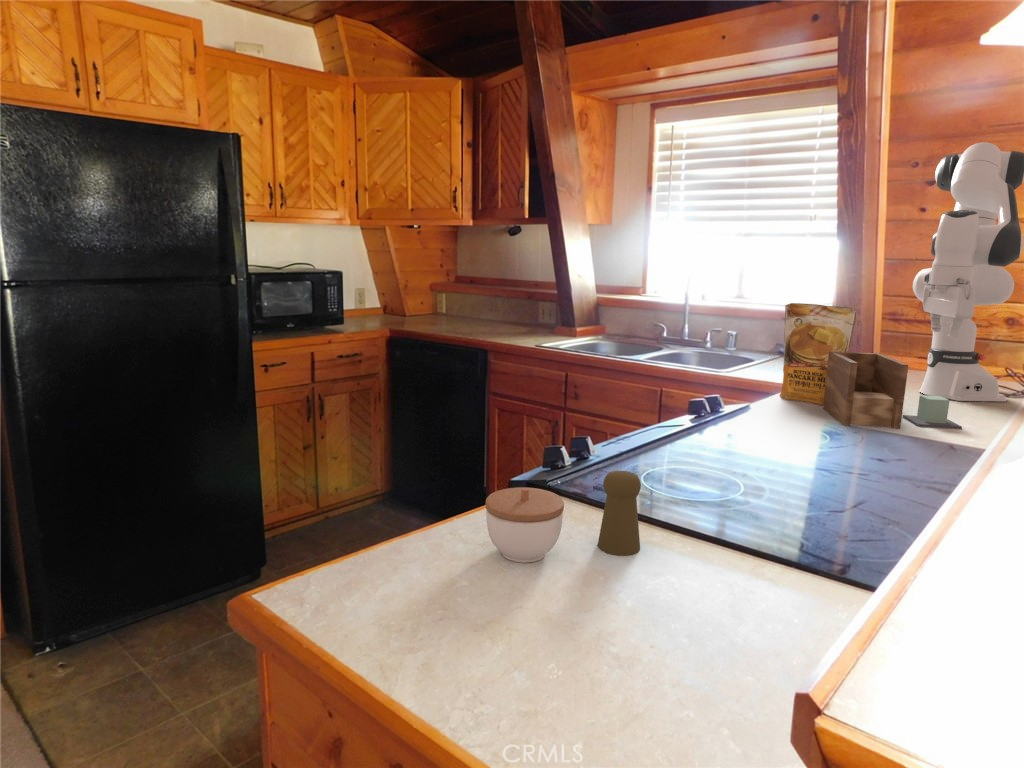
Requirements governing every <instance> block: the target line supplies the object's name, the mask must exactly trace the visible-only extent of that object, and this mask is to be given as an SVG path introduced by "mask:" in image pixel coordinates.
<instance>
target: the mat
mask: <svg viewBox="0 0 1024 768" xmlns="http://www.w3.org/2000/svg"><path fill="white" fill-rule="evenodd" d="M902 418H903V419H905V420H907V421H908V422H910V423H911V424H913V425H915V426H916V427H920V428H921V427H922V428H937V429H956V430H957V429H958V430H962V429H963V426H962V425H959V424H958V423H956V422H954V421H952V420H951V419H948V418H947V422H946V423H928V422H923V421H922V420H920V419H918V418H917V415H906V414H902Z"/></svg>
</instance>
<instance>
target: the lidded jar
mask: <svg viewBox="0 0 1024 768" xmlns="http://www.w3.org/2000/svg"><path fill="white" fill-rule="evenodd" d="M564 508H565V501H564V500H563V498H562V497H561V496H559V495H558V494H556V493H555V492H552V491H549V490H546V489H542V488H535V487H524V486H523V487H519V486H518V487H509V488H502V489H500V490H499V489H498V490H496V491H494V492H492V493H490V494H489V495H488V496H487V498H486V499H485V509H486V513H485V514H486V515H485V516H486V526H487V531H488V535H489V539H490V540H491V542H492V544H493V545H494V547H495V548H496V549H497V550H498V551H499V552H500V553H501V556H502V557H503V558H505V559H506V560H507V561H511V562H514V563H522V564H523V563H524V564H527V563H534V562H538V561H540V560H542V559H544V558H545V556H546V554H547V553H549V552H550V551H551V550H552V549H553V548H554V546H555V545H556V544H557V543H558V540H559V537H560V535H561V534H560V533H561V531H562V527H563V526H562V525H563V517H564V516H563V515H564V514H563V513H564Z"/></svg>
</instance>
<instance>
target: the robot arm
mask: <svg viewBox="0 0 1024 768" xmlns="http://www.w3.org/2000/svg"><path fill="white" fill-rule="evenodd" d="M934 181H935V182H936V186H937V187H938V189H939V190H942V191H946V192H950V194H951V196H952V198H953V199H954V201H955V205H954V209H953V210H949V211H946V212H943V214H942V215H941V217H940V221H939V225H938V226H937V231H936V232H935V234H933V236H932V241H931V242H932V243H931V250H930V254H931V256H933V257H934V260H933V261H932V263H931V264H932V265H931V267H929V268H923V269H921V270H919V272H918V273H916V275H915V277H914V279H913V281H912V292H913V294H914V295H915V297H916V298H917V299H918V300H919V301H921V302H922V309H923V312H925V313H929V314H930V316H929V318H930V323H931V326H930V330H931V332H932V339H931V346H930V347H929V351H928V353H927V354H928V356H927V368H926V372H925V376H924V378H923V379H924V380H923V381H922V384H921V387H920V389H919V393H920V392H921V393H920V394H922V393H923V394H924V395H926V396H942V397H944V398H946V399H948V400H951V401H957V402H1007V397H1006V396H1005V395H1003V394H1001V393H999V381H998V379H997V378H996V377H995V376H994V375H993V374H992V373H990V371H988V370H987V369H985V367H983V366H982V365H981V364H979V363H980V362H979V361H982V362H985V361H986V360H987V359H988V355H987V354H986V353H979V352H977V351H975V346H976V339H977V332H978V328H977V327H978V326H977V324H976V323H975V322H974V321H973V320H972V319H973V317H974V314H975V306H992V305H1001V304H1003V303H1005V302H1007V300H1009V299H1010V298H1011V296H1012V294H1013V292H1014V290H1015V282H1014V278H1013V276H1012V274H1011V273H1010V272H1009V271H1008V270H1006V269H1005V267H1007V266H1009V265H1011V264H1012V263H1015V261H1017V260H1018V259H1019V258H1020V256H1021V255H1022V253H1023V249H1024V237H1023V233H1022V231H1021V230H1022V229H1021V225H1020V221H1019V219H1020V218H1019V212H1018V211H1019V210H1018V203H1017V197H1016V192H1015V190H1016V189H1018V188H1019V187H1020V186H1022V185H1023V183H1024V152H1023V151H1017V150H1011V151H1005V150H1004V151H1002V150H1001V149H1000V147H998V146H997V145H996V144H994V143H992V142H983V141H982V142H977V143H974V144H972V145H969V147H967V148H966V149H965V150H964V151H963V153H959V154H958V153H957V152H956V153H953V154H947V155H945V156H943V157H942V159H940V162H939V163H938V164H937V166H936V169H935V173H934ZM997 221H998V222H997ZM996 222H997V224H996ZM923 394H922V395H923Z"/></svg>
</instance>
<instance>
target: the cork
mask: <svg viewBox="0 0 1024 768" xmlns="http://www.w3.org/2000/svg"><path fill="white" fill-rule="evenodd" d="M602 485H603V490H604V492H605V494H606V498H605V503H604V509H603V515H602V519H601V524H600V525H601V526H600V530H599V535H598V536H599V537H598V540H597V541H598V542H597V547H598V549H599V550H600V551H601V552H604V553H605V554H608V555H611V556H618V557H620V556H621V557H625V556H626V557H627V556H633V555H636V554H638V553H639V552H640V550H641V541H640V530H639V528H640V527H639V526H640V525H639V516H638V504H637V497H638V496H639V495H640V491H641V489H642V483H641V480H640V478H639V476H638V475H637V474H636V473H634V472H631V471H627V470H613V471H610V472H608V473H606V475H605V477H604V479H603V484H602Z"/></svg>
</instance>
